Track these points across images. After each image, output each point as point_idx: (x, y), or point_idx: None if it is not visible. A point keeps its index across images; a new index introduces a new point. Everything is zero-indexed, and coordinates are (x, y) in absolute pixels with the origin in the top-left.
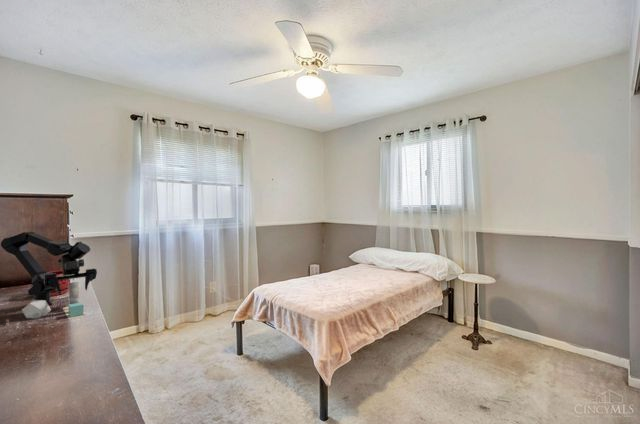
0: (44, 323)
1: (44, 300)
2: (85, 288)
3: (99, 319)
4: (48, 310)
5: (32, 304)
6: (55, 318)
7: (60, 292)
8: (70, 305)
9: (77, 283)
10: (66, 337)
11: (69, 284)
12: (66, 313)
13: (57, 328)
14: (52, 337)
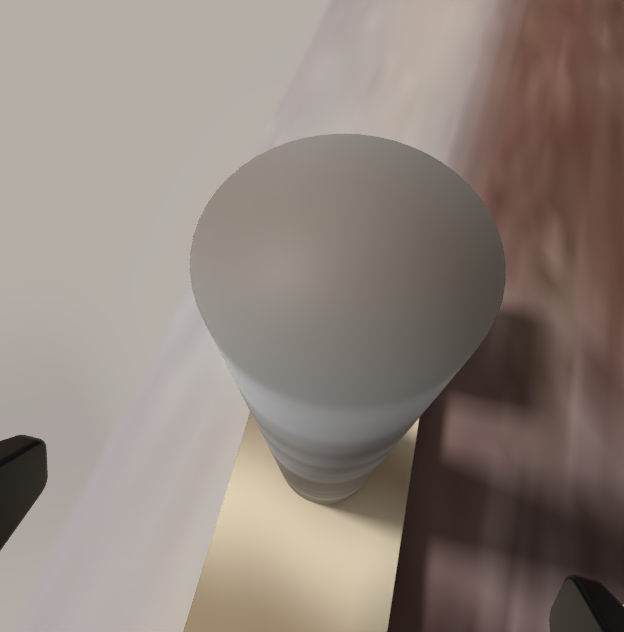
0: (603, 399)
1: None
2: (15, 493)
3: (271, 124)
4: None
5: None
6: (499, 481)
7: (590, 586)
8: None
9: (270, 165)
10: (519, 9)
11: (492, 261)
12: (406, 447)
13: (533, 178)
14: (579, 58)
